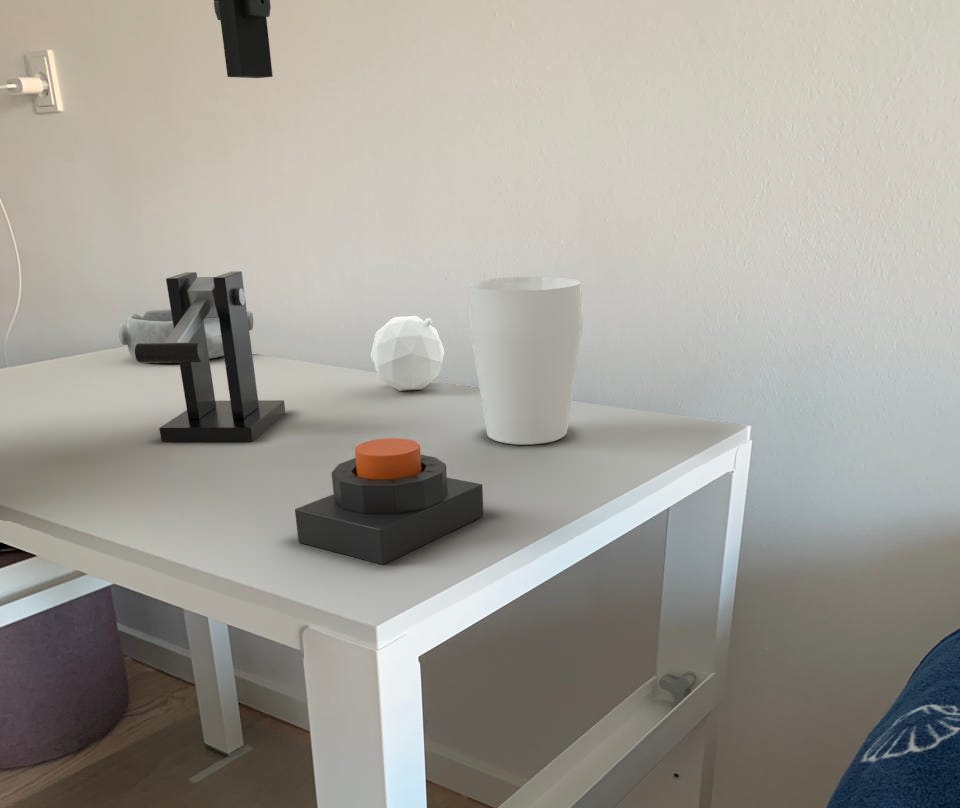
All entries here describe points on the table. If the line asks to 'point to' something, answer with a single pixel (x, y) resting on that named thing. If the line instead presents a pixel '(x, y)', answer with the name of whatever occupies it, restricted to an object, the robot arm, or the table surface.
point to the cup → (526, 355)
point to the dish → (168, 330)
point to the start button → (388, 458)
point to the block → (388, 512)
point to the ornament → (407, 353)
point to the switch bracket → (244, 410)
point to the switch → (184, 328)
